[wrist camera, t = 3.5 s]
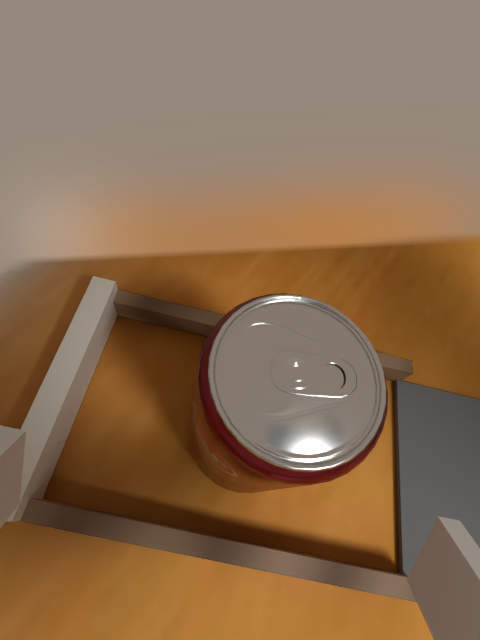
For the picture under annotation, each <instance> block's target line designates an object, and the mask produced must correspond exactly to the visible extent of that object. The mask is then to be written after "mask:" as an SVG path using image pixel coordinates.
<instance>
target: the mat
mask: <svg viewBox="0 0 480 640" xmlns="http://www.w3.org/2000/svg"><path fill="white" fill-rule="evenodd" d="M394 400H395V437H396V474H397V510H398V547H399V574H402V575H407V576H408V575H409V573H410V571H411V569H412V567H413V565H414V563H415V561H416V559H417V557H418V555H419V553H420V551H421V549H422V547H423V545H424V543H425V541H426V539H427V537H428V535H429V533H430V531H431V529H432V527H433V525H434V523H435V521H436V519H437V517H438V516H440V517H445V518H450V519H455V520H459V521H461V523H462V524H463V526H464V527H465V528H466V530H467V531H468V532H469V534H470V535H471V537H472V538H473V539H474V541H475V542H476V544H477V545H478V546H479V548H480V399H476V398H471V397H467V396H463V395H459V394H455V393H450V392H446V391H442V390H438V389H434V388H429V387H425V386H421V385H417V384H413V383H408V382H404V381H400V380H396V381H394Z"/></svg>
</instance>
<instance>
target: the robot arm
mask: <svg viewBox="0 0 480 640" xmlns="http://www.w3.org/2000/svg"><path fill="white" fill-rule="evenodd" d="M25 436H26V431H25V430H20V429H16V428H11V427H6V426H1V425H0V529H1V527H2V526H3V525H4V523H5V522H6V521H7V520H8V518H9V517H10V516H11V514H12V513H13V512H14V510H15V509H16V508H17V507H18V505H19V504H20V495H21V483H22V472H23V460H24V448H25ZM407 581H408V583H409V586H410V588H411V590H412V592H413V594H414V597H415V599H416V601H417V603H418V605H419V607H420V610H421V612H422V614H423V616H424V618H425V621H426V623H427V625H428V627H429V629H430V632H431V634H432V636H433V638H434V640H480V548H479V546H478V545H477V544H476V542H475V541H474V539H473V538H472V537H471V535H470V534H469V532H468V531H467V530H466V528H465V527H464V526H463V524H462V523H461V521H459V520H455V519H450V518H445V517H440V516H438V517H437V519H436V521H435V523H434V525H433V527H432V529H431V531H430V533H429V535H428V537H427V539H426V541H425V543H424V545H423V547H422V549H421V551H420V553H419V555H418V557H417V559H416V561H415V563H414V565H413V567H412V569H411V571H410V573H409V575H408V577H407Z"/></svg>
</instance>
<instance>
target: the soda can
mask: <svg viewBox="0 0 480 640" xmlns="http://www.w3.org/2000/svg"><path fill="white" fill-rule="evenodd" d="M387 403H388V391H387V385H386V379H385V374H384V371H383V368H382V366H381V363H380V360H379V357H378V355H377V353H376V351H375V350H374V348H373V346H372V344H371V342H370V341H369V339H368V338H367V337H366V336H365V334H364V333H363V332H362V330H361V329H360V328H359V327H358V326H357V325H356V324H355V323H354V322H353V321H352V320H350V319H349V318H348V317H347V316H346V315H344V314H343V313H341V312H340V311H338V310H337V309H335V308H334V307H332V306H330V305H328V304H326V303H324V302H321V301H319V300H316V299H313V298H309V297H306V296H302V295H294V294H285V293H284V294H268V295H264V296H260V297H256V298H253V299H251V300H248V301H246V302H244V303H242V304H240V305H238V306H236V307H235V308H233V309H232V310H231V311H229V312H228V313H227V314H225V315H224V316H223V317H222V318H221V319H220V320H219V322H218V323H217V324H216V325H215V326H214V327H213V328H212V330H211V332H210V334H209V335H208V337H207V339H206V341H205V342H204V345H203V348H202V352H201V355H200V358H199V362H198V368H197V375H196V381H195V388H194V394H193V400H192V407H191V413H190V420H189V430H188V434H189V444H190V447H191V451H192V454H193V457H194V459H195V460H196V462H197V464H198V466H199V468H200V469H201V470H202V471H203V472H204V474H205V475H206V476H207V477H208V478H209V479H211V480H212V481H213V482H214V483H216V484H217V485H219V486H221V487H223V488H225V489H227V490H231V491H234V492H238V493H255V492H262V491H269V490H276V489H284V488H291V487H298V486H305V485H312V484H317V483H323V482H328V481H331V480H334V479H336V478H338V477H340V476H343V475H345V474H347V473H349V472H350V471H351V470H352V469H354V468H355V467H356V466H358V465H359V464H360V463H362V462H363V461H364V459H365V458H366V457H367V456H368V454H369V453H370V452H371V451H372V449H373V448H374V447H375V445H376V443H377V440H378V438H379V436H380V434H381V432H382V430H383V427H384V423H385V418H386V414H387Z"/></svg>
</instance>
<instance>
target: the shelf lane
mask: <svg viewBox="0 0 480 640" xmlns="http://www.w3.org/2000/svg"><path fill="white" fill-rule="evenodd" d="M117 316H121V317H126V318H130V319H134V320H138V321H142V322H147V323H151V324H155V325H159V326H163V327H168V328H172V329H176V330H180V331H184V332H189V333H193V334H197V335H201V336H205V337H208V335H209V334H210V332H211V330H212V328H213V327H214V326H215V325H216V324H217V323H218V322H219V320H220V319H221V318H222V317H223V316H224V315H222V314H218V313H213V312H209V311H205V310H201V309H197V308H193V307H189V306H185V305H180V304H176V303H172V302H168V301H164V300H160V299H156V298H151V297H147V296H143V295H139V294H135V293H131V292H127V291H123V290H118V287H117V284H116V281H112V280H108V279H104V278H100V277H96V276H93V277H92V280H91V282H90V284H89V286H88V288H87V290H86V292H85V294H84V296H83V298H82V301H81V303H80V305H79V307H78V309H77V311H76V313H75V315H74V317H73V320H72V322H71V324H70V326H69V328H68V330H67V332H66V334H65V336H64V338H63V341H62V343H61V345H60V347H59V349H58V351H57V353H56V355H55V357H54V360H53V362H52V364H51V366H50V368H49V370H48V372H47V374H46V376H45V378H44V381H43V383H42V385H41V387H40V389H39V391H38V393H37V395H36V397H35V400H34V402H33V404H32V406H31V408H30V410H29V412H28V414H27V416H26V418H25V421H24V423H23V425H22V427H21V429H20V430H25V431H26V436H25V448H24V460H23V472H22V483H21V495H20V504H19V505H18V507H17V508H16V509H15V510H14V512H13V513H12V514H11V516H10V517H9V518H8V520H7V521H9V522H16V521H22V522H27V523H32V524H36V525H41V526H46V527H51V528H56V529H61V530H66V531H71V532H76V533H81V534H85V535H90V536H95V537H100V538H105V539H110V540H115V541H120V542H125V543H129V544H134V545H139V546H144V547H149V548H154V549H159V550H164V551H169V552H173V553H178V554H183V555H188V556H193V557H198V558H203V559H208V560H213V561H218V562H222V563H227V564H232V565H237V566H242V567H247V568H252V569H257V570H262V571H266V572H271V573H276V574H281V575H286V576H291V577H296V578H301V579H306V580H310V581H315V582H320V583H325V584H330V585H335V586H340V587H345V588H350V589H355V590H359V591H364V592H369V593H374V594H379V595H384V596H389V597H394V598H399V599H403V600H408V601H413V602H417V601H416V599H415V597H414V594H413V592H412V590H411V588H410V586H409V583H408V581H407V577H408V576H407V575H402V574H399V573H394V572H389V571H385V570H380V569H375V568H370V567H365V566H361V565H356V564H351V563H346V562H341V561H337V560H332V559H327V558H322V557H317V556H313V555H308V554H303V553H298V552H293V551H289V550H284V549H279V548H274V547H269V546H265V545H260V544H255V543H250V542H245V541H241V540H236V539H231V538H226V537H221V536H217V535H212V534H207V533H202V532H197V531H193V530H188V529H183V528H178V527H173V526H169V525H164V524H159V523H154V522H149V521H145V520H140V519H135V518H130V517H125V516H121V515H116V514H111V513H106V512H101V511H97V510H92V509H87V508H82V507H77V506H73V505H68V504H63V503H58V502H53V501H49V500H44V499H43V497H44V494H45V492H46V489H47V487H48V484H49V482H50V479H51V477H52V475H53V472H54V470H55V467H56V465H57V462H58V460H59V457H60V455H61V452H62V450H63V448H64V445H65V443H66V440H67V438H68V435H69V433H70V430H71V428H72V425H73V423H74V421H75V418H76V416H77V413H78V411H79V408H80V406H81V403H82V401H83V398H84V396H85V394H86V391H87V389H88V386H89V384H90V381H91V379H92V376H93V374H94V371H95V369H96V367H97V364H98V362H99V359H100V357H101V354H102V352H103V349H104V347H105V344H106V342H107V340H108V337H109V335H110V332H111V330H112V327H113V325H114V322H115V320H116V317H117ZM376 353H377V355H378V357H379V360H380V363H381V366H382V368H383V371H384V374H385V379H386V380H390V381H396V380H402V379H404V378H406V377H407V376H409V375H411V374H413V369H412V360H408V359H404V358H399V357H395V356H391V355H387V354H383V353H379V352H376Z"/></svg>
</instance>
